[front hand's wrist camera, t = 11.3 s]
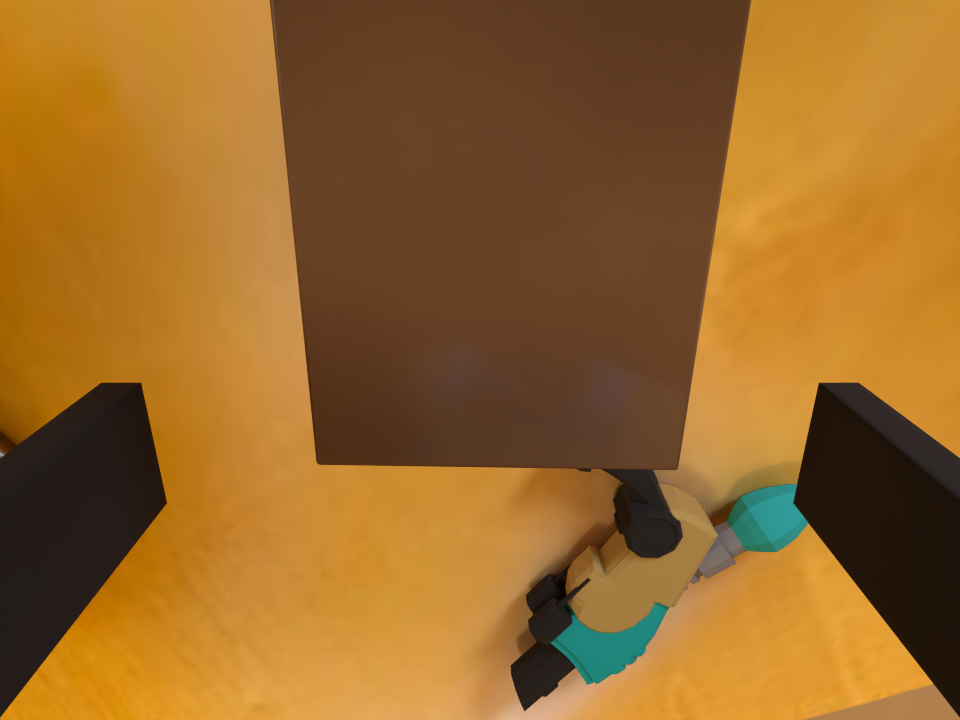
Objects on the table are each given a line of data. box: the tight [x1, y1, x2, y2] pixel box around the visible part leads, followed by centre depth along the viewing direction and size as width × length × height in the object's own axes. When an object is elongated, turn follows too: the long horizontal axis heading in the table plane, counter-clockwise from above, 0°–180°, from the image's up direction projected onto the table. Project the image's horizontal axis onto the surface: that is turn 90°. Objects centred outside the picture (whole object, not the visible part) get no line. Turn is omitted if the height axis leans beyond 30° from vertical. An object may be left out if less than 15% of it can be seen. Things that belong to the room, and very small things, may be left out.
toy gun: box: [511, 468, 808, 711], centre depth 43 cm, size 4×26×15 cm
